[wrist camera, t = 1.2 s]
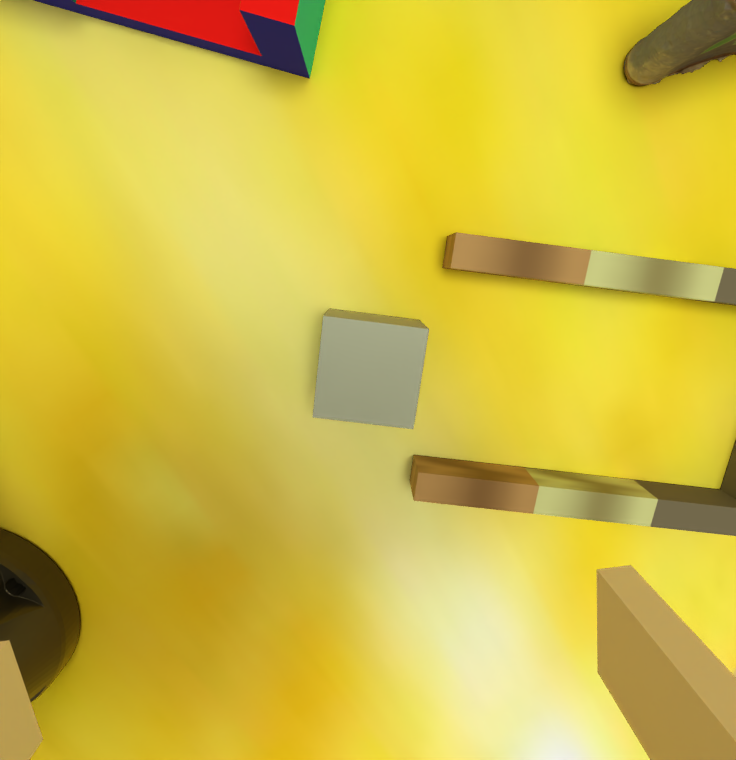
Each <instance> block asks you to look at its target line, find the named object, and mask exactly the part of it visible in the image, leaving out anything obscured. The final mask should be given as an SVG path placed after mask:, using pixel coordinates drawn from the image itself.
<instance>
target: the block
mask: <svg viewBox="0 0 736 760" xmlns="http://www.w3.org/2000/svg"><path fill="white" fill-rule="evenodd" d="M428 333H429V329H428V328H427V327H426V326H425V325H424V324H423V323H422V322H421V321H420V320H416V319H408V318H400V317H392V316H385V315H377V314H369V313H361V312H353V311H345V310H337V309H329V310H328V311H327V312H326V313H325V314H324V316H323V324H322V333H321V343H320V352H319V362H318V371H317V381H316V390H315V400H314V409H313V417H315V418H323V419H332V420H340V421H349V422H357V423H365V424H374V425H382V426H391V427H399V428H407V429H413V428H414V422H415V416H416V409H417V403H418V396H419V390H420V384H421V377H422V371H423V364H424V358H425V352H426V345H427V339H428Z"/></svg>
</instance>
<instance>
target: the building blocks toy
mask: <svg viewBox="0 0 736 760" xmlns="http://www.w3.org/2000/svg"><path fill="white" fill-rule="evenodd" d="M34 1H38V2H41V3H45V4H48V5H52V6H55V7H59V8H62V9H66V10H70V11H73V12H77V13H80V14H84V15H87V16H91V17H94V18H98V19H101V20H105V21H108V22H112V23H116V24H119V25H123V26H126V27H130V28H133V29H137V30H140V31H144V32H147V33H151V34H154V35H158V36H161V37H165V38H169V39H172V40H176V41H179V42H183V43H186V44H190V45H193V46H197V47H200V48H204V49H207V50H211V51H215V52H218V53H222V54H225V55H229V56H232V57H236V58H239V59H243V60H246V61H250V62H253V63H257V64H260V65H264V66H268V67H271V68H275V69H278V70H282V71H285V72H289V73H292V74H296V75H299V76H303V77H306V78H310V74H311V69H312V65H313V60H314V55H315V50H316V45H317V40H318V35H319V30H320V25H321V20H322V15H323V10H324V5H325V0H34Z"/></svg>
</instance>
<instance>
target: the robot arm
mask: <svg viewBox="0 0 736 760" xmlns="http://www.w3.org/2000/svg"><path fill="white" fill-rule="evenodd" d="M79 632H80V614H79V608H78V604H77V601H76V598H75V595H74V593H73V590H72V588H71V586H70V584H69V582H68V581H67V579H66V577H65V576H64V575H63V573H62V572H61V571H60V569H59V568H58V567H57V566H56V565H55V563H54V562H53V561H52V560H51V559H50V558H49V557H48V556H46V555H45V554H44V553H43V552H42V551H41V550H39V549H38V548H37V547H35V546H34V545H32V544H31V543H29V542H28V541H26V540H24V539H22V538H20V537H19V536H16V535H14V534H12V533H10V532H7V531H5V530H2V529H0V760H30V758H31V757H32V755H33V754H34V752H35V751H36V749H37V748H38V746H39V745H40V743H41V742H42V740H43V737H42V734H41V731H40V729H39V726H38V723H37V720H36V717H35V714H34V711H33V708H32V705H31V702H32V701H34V700H35V699H36V698H37V697H39V696H40V695H41V694H42V693H43V692H44V691H45V690H46V689H47V688H48V687H49V686H50V684H51V683H52V682H53V681H54V679H55V678H56V677H57V675H58V674H59V673H60V671H61V670H62V669H63V667H64V666H65V665H66V663H67V662H68V661H69V659H70V658H71V656H72V654H73V652H74V650H75V648H76V645H77V642H78V638H79ZM597 653H598V674H599V675H600V677H601V679H602V680H603V682H604V684H605V685H606V687H607V689H608V690H609V692H610V694H611V695H612V697H613V699H614V700H615V702H616V704H617V705H618V707H619V709H620V710H621V712H622V713H623V715H624V717H625V718H626V720H627V722H628V723H629V725H630V727H631V728H632V730H633V732H634V733H635V735H636V737H637V738H638V740H639V742H640V743H641V745H642V747H643V748H644V750H645V752H646V753H647V755H648V757H649V758H650V760H736V677H735V676H734V675H733V674H732V673H731V672H730V671H729V670H728V669H727V668H726V666H725V665H724V664H723V663H722V662H721V661H720V660H719V659H718V658H717V657H716V656H715V655H714V654H713V653H712V651H711V650H710V649H709V648H708V647H707V646H706V645H705V644H704V643H703V642H702V641H701V640H700V639H699V638H698V636H697V635H696V634H695V633H694V632H693V631H692V630H691V629H690V628H689V627H688V626H687V625H686V624H685V623H684V621H683V620H682V619H681V618H680V617H679V616H678V615H677V614H676V613H675V612H674V611H673V610H672V609H671V608H670V606H669V605H668V604H667V603H666V602H665V601H664V600H663V599H662V598H661V597H660V596H659V595H658V594H657V593H656V592H655V590H654V589H653V588H652V587H651V586H650V585H649V584H648V583H647V582H646V581H645V580H644V579H643V578H642V577H641V575H640V574H639V573H638V572H637V571H636V570H635V569H634V568H633V567H632V566H631V565H630V566H621V567H613V568H605V569H597Z"/></svg>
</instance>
